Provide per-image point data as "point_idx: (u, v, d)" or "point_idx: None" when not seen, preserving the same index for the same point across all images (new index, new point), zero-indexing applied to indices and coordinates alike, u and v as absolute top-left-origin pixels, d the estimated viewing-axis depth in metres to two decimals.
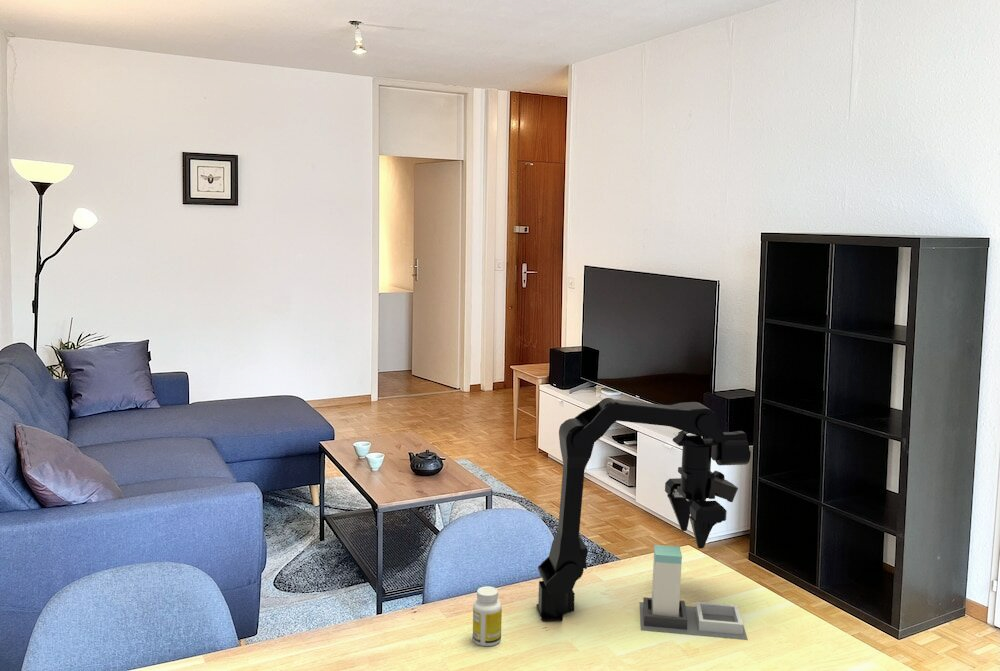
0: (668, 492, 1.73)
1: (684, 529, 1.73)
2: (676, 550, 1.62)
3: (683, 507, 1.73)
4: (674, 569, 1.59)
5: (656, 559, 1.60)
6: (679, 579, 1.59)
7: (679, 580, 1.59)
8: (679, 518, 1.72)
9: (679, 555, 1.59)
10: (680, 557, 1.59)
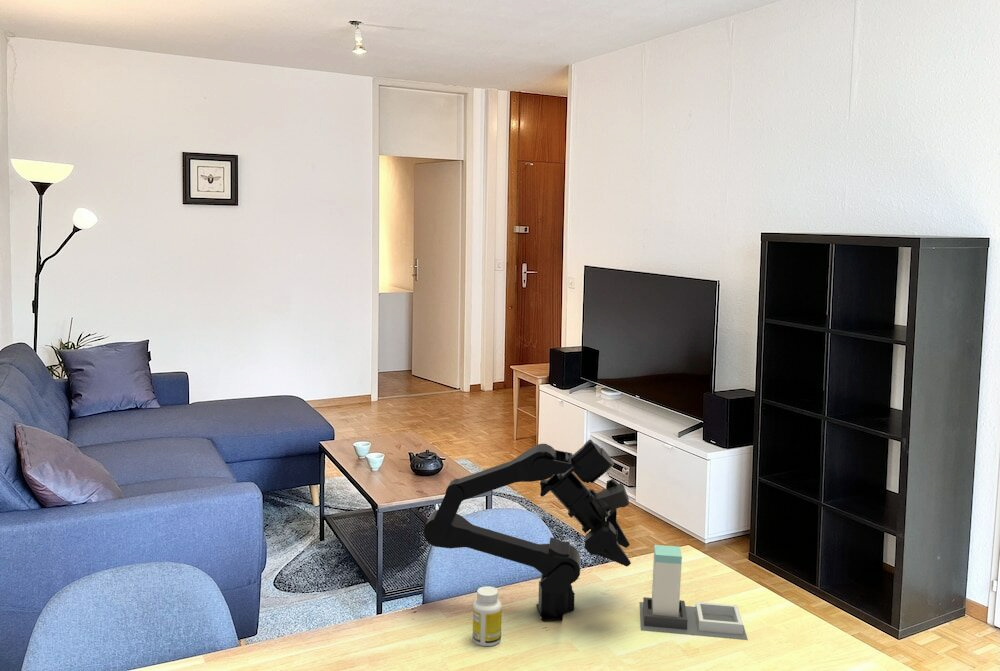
0: None
1: (626, 545, 1.67)
2: (676, 550, 1.62)
3: None
4: (674, 569, 1.59)
5: (656, 559, 1.60)
6: (679, 579, 1.59)
7: (679, 580, 1.59)
8: None
9: (679, 555, 1.59)
10: (680, 557, 1.59)
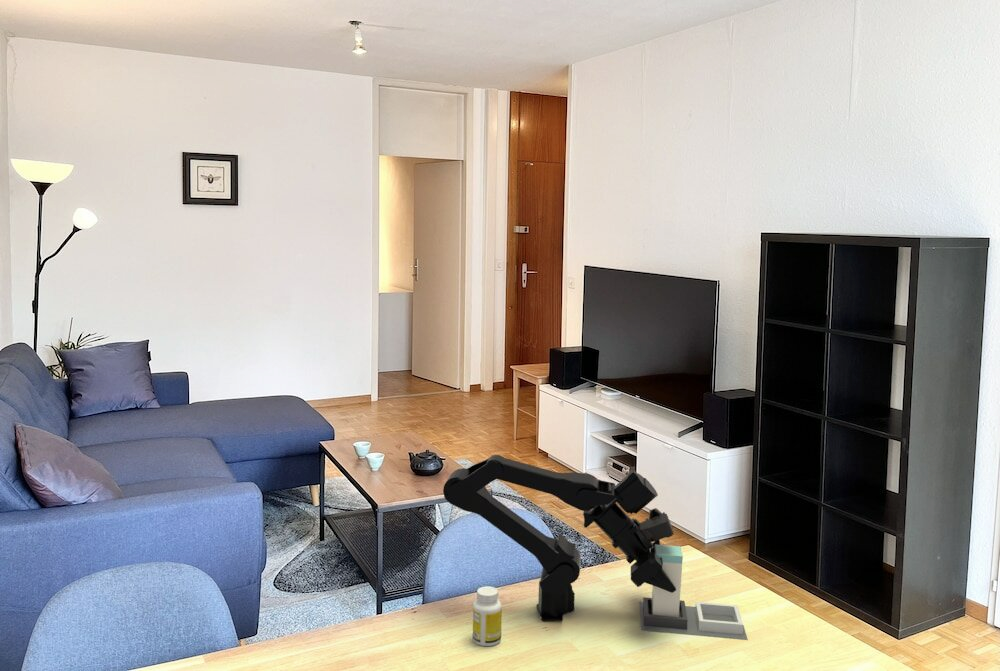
0: None
1: None
2: (677, 550, 1.62)
3: None
4: (674, 569, 1.59)
5: None
6: (680, 579, 1.59)
7: (680, 580, 1.60)
8: None
9: (680, 554, 1.60)
10: (681, 557, 1.59)
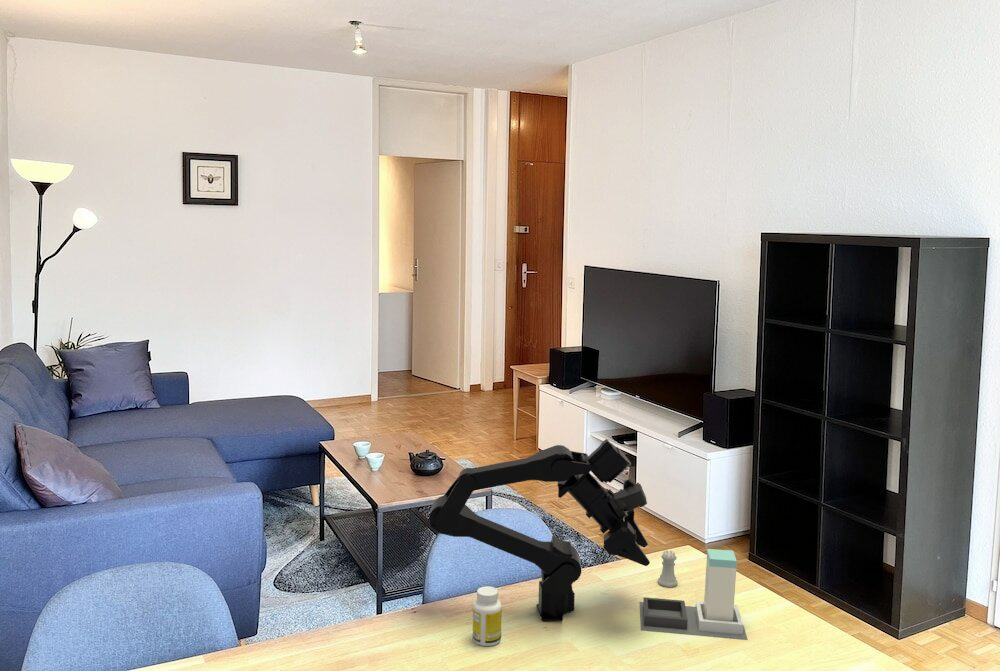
0: None
1: (645, 544, 1.67)
2: (730, 554, 1.60)
3: None
4: (728, 573, 1.58)
5: (710, 563, 1.58)
6: (734, 583, 1.58)
7: (734, 584, 1.58)
8: None
9: (734, 559, 1.58)
10: (735, 561, 1.57)
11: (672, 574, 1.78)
